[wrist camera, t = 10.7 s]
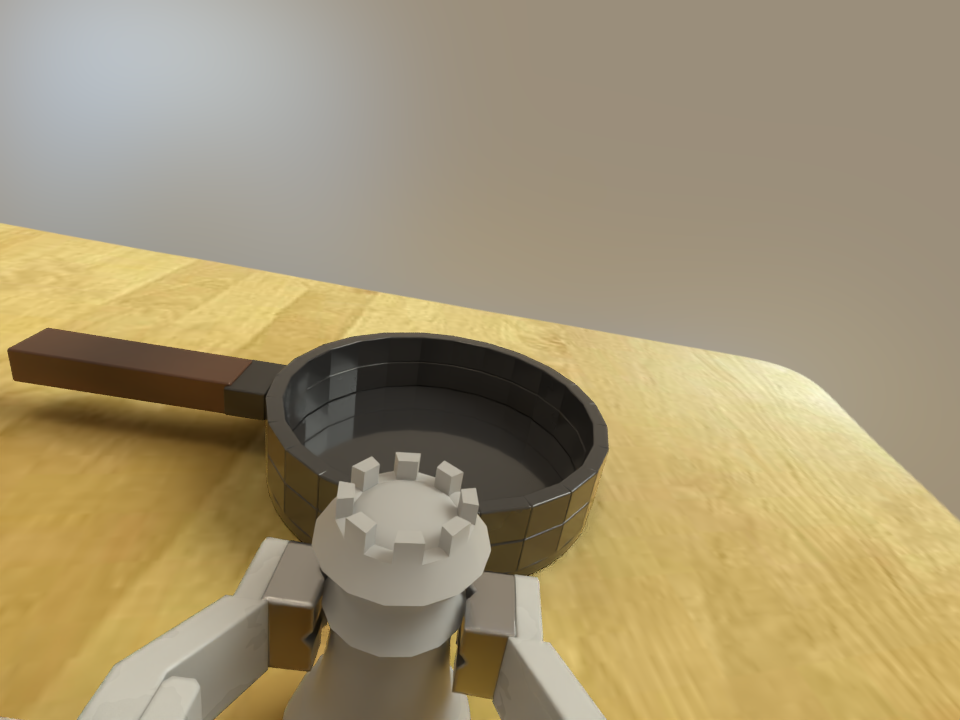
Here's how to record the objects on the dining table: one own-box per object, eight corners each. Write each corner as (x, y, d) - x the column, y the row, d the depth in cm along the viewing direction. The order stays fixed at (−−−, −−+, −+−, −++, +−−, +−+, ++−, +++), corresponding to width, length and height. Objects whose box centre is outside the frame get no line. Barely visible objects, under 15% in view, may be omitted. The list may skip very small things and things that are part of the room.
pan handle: (288, 391, 25) (288, 362, 24) (265, 423, 23) (265, 392, 22) (55, 355, 25) (50, 325, 24) (8, 383, 22) (1, 350, 22)
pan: (198, 449, 23) (194, 378, 22) (429, 366, 33) (436, 313, 32) (441, 667, 16) (457, 583, 15) (643, 481, 26) (663, 419, 25)
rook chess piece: (312, 663, 16) (325, 409, 13) (475, 692, 16) (531, 445, 13) (238, 859, 12) (227, 563, 8) (457, 898, 12) (533, 616, 8)
